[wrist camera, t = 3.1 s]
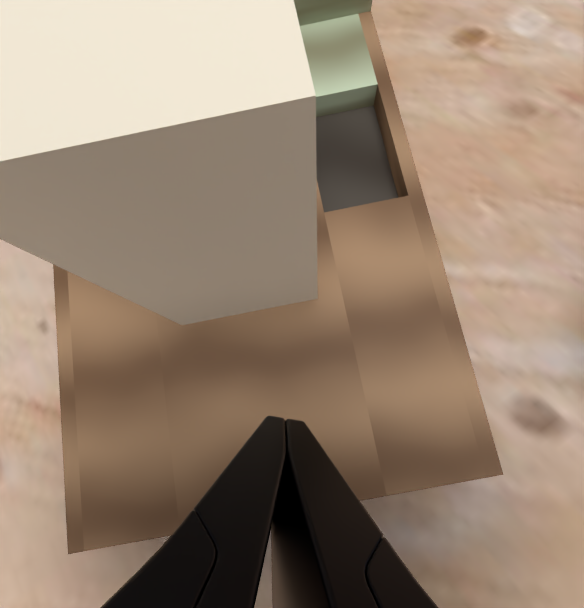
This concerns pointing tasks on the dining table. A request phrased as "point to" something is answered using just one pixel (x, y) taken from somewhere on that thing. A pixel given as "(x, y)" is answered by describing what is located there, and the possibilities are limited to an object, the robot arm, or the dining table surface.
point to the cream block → (162, 149)
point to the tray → (284, 338)
